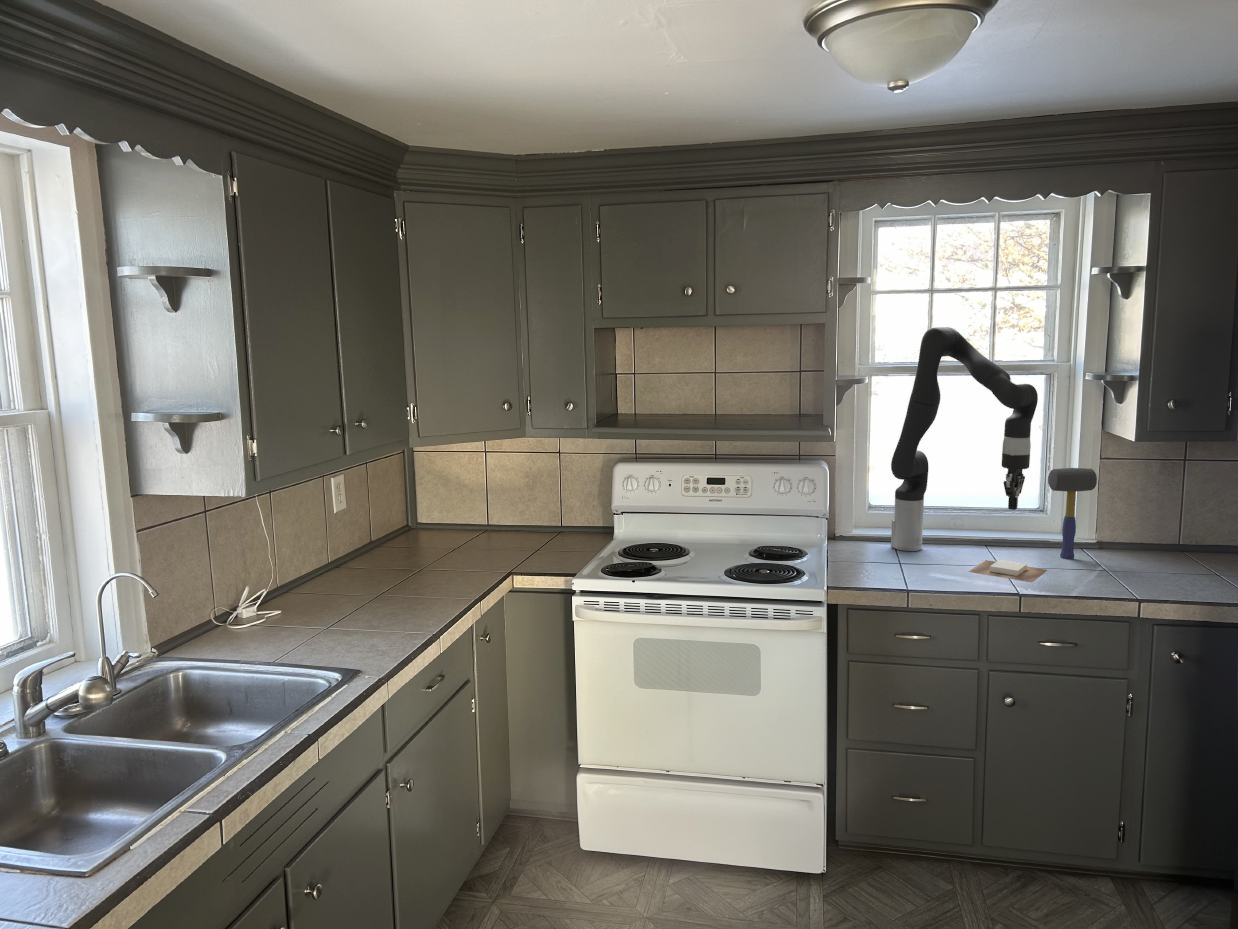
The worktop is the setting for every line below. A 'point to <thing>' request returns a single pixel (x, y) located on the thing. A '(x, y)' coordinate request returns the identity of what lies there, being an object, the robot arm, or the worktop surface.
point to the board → (1027, 575)
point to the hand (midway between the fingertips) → (1012, 509)
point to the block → (1008, 567)
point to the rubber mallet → (1071, 500)
